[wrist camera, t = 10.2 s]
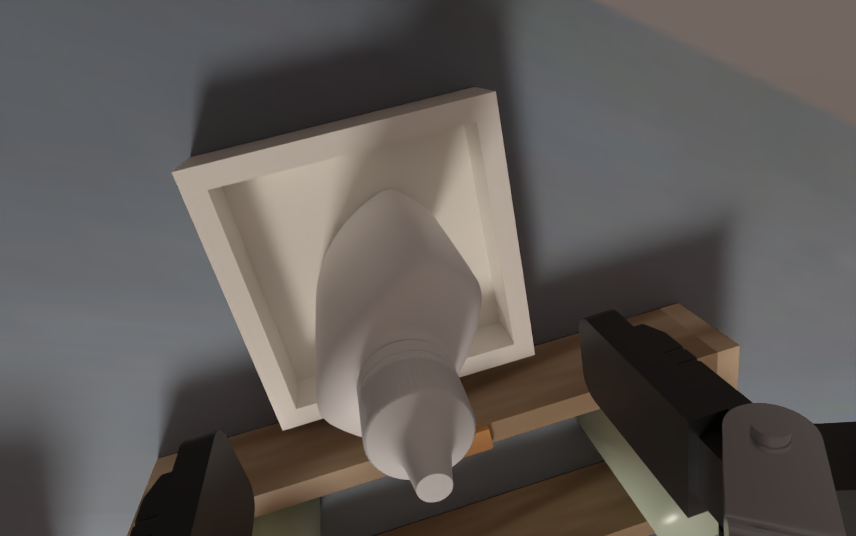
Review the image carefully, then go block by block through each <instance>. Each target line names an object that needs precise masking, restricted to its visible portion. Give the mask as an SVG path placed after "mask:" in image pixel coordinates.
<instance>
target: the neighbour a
mask: <svg viewBox="0 0 856 536" xmlns="http://www.w3.org/2000/svg"><path fill="white" fill-rule="evenodd" d="M252 536H321V501H320V497H319V498H315V499H312V500H309V501H306V502H303V503H299V504H296V505H293V506H290V507H287V508H284V509H280V510H277V511H274V512H271V513H268V514H265V515H261V516H258V517H255V518H254V523H253V531H252Z"/></svg>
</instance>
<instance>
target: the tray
mask: <svg viewBox="0 0 856 536" xmlns="http://www.w3.org/2000/svg"><path fill="white" fill-rule="evenodd" d="M172 174H173V176H174V179H175V181H176V183H177V186H178V188H179V190H180V193H181V195H182V197H183V200H184V202H185V204H186V207H187V209H188V211H189V214H190V216H191V218H192V221H193V223H194V225H195V228H196V230H197V232H198V235H199V237H200V239H201V242H202V244H203V246H204V249H205V251H206V253H207V256H208V258H209V260H210V263H211V265H212V267H213V270H214V272H215V274H216V277H217V279H218V281H219V284H220V286H221V288H222V291H223V293H224V295H225V298H226V300H227V302H228V305H229V307H230V309H231V312H232V314H233V316H234V319H235V321H236V323H237V326H238V328H239V330H240V333H241V335H242V337H243V340H244V342H245V344H246V347H247V349H248V351H249V354H250V356H251V358H252V361H253V363H254V365H255V368H256V370H257V372H258V375H259V377H260V379H261V382H262V384H263V386H264V389H265V391H266V393H267V395H268V398H269V400H270V402H271V405H272V407H273V409H274V412H275V414H276V416H277V419H278V421H279V423H280V426H281V428H282V430H283V431H284V430H287V429H290V428H294V427H297V426H300V425H304V424H307V423H310V422H313V421H317V420H320V419H323V417H322V416H321V415H320V412H319V410H318V407H317V402H316V388H315V317H316V289H317V282H318V278H319V273H320V270H321V266H322V263H323V261H324V258H325V255H326V253H327V251H328V249H329V247H330V245H331V243H332V241H333V239H334V238H335V236H336V235H337V233H338V232H339V230H340V229H341V227H342V226H343V225H344V223H345V222H346V221H347V220H348V219H349V218H350V217H351V216H352V215H353V214H354V212H356V211H357V210H358V209H359V208H360V207H361V206H362V205H363V204H365V203H366V202H367V201H368V200H370V199H371V198H372V197H374V196H375V195H377V194H378V193H380V192H382V191H385V190H389V189H393V190H397V191H400V192H402V193H404V194H405V195H407V196H409V197H410V198H412V199H414V200H415V201H417V202H418V203H420V204H422V205H423V206H425V207H426V208H427V209H428V210H429V211H430V212H431V213H432V214H433V216H434V217H435V218H436V220H437V221H438V223H439V224H440V225H441V227H442V228H443V230H444V231H445V233H446V234H447V235H448V237H449V238H450V240H451V241H452V243H453V244H454V245H455V247H456V248H457V250H458V251H459V253H460V254H461V256H462V257H463V259H464V260H465V262H466V263H467V264H468V266H469V267H470V269H471V271H472V272H473V274H474V275H475V277H476V279H477V280H478V282H479V285H480V288H481V294H482V304H481V312H480V316H479V322H478V326H477V330H476V334H475V337H474V340H473V343H472V346H471V349H470V351H469V354H468V356H467V358H466V361H465V363H464V365H463V367H462V369H461V371H460V373H459V374H458V376H459V378H460V377H463V376H466V375H470V374H473V373H476V372H480V371H483V370H486V369H490V368H493V367H496V366H500V365H503V364H506V363H509V362H513V361H516V360H519V359H523V358H526V357H529V356H533V355H535V351H534V344H533V337H532V331H531V324H530V317H529V310H528V304H527V297H526V290H525V284H524V277H523V270H522V263H521V257H520V250H519V243H518V237H517V230H516V223H515V217H514V210H513V203H512V196H511V190H510V183H509V176H508V170H507V163H506V156H505V150H504V143H503V136H502V129H501V123H500V116H499V109H498V103H497V96H496V91H492V90H488V89H483V88H479V87H472V88H468V89H464V90H460V91H456V92H452V93H447V94H443V95H439V96H435V97H431V98H427V99H423V100H419V101H415V102H411V103H407V104H403V105H399V106H395V107H391V108H387V109H383V110H379V111H375V112H371V113H367V114H363V115H359V116H355V117H351V118H347V119H343V120H338V121H334V122H330V123H326V124H322V125H318V126H314V127H310V128H306V129H302V130H298V131H294V132H290V133H286V134H282V135H278V136H274V137H270V138H266V139H262V140H258V141H254V142H250V143H246V144H242V145H238V146H234V147H230V148H225V149H221V150H217V151H213V152H209V153H205V154H201V155H197V156H193V157H190V158H188V159H187V160H186V161H185V162H184V163H182V164H181V165H180V166H179V167H177V168H176V169H175V170H174V171H173V172H172Z"/></svg>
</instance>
